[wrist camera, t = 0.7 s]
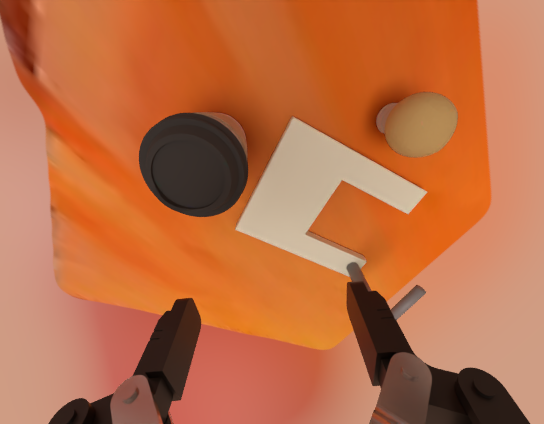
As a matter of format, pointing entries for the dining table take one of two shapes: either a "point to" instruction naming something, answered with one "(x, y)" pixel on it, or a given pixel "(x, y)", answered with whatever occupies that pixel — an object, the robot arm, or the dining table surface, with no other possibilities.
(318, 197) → the cream u-shaped stand
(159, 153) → the coffee cup
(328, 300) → the dining table surface
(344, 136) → the dining table surface
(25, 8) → the dining table surface
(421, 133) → the light bulb
